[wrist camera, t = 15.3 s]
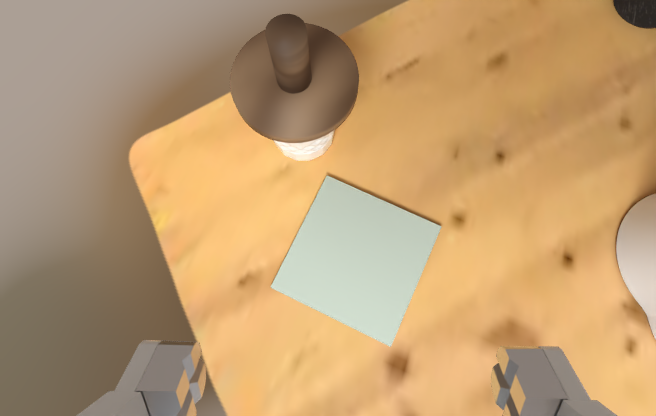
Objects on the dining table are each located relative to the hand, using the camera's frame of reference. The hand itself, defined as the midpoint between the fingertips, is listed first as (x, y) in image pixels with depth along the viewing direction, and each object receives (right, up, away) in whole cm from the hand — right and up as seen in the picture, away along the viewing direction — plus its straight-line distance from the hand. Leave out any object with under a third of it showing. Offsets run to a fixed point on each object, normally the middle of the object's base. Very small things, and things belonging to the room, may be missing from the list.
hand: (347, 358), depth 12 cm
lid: (-3, +15, +26) cm, 30 cm away
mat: (+2, -1, +32) cm, 32 cm away
